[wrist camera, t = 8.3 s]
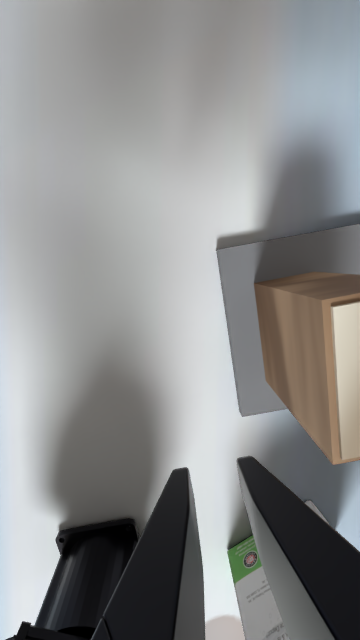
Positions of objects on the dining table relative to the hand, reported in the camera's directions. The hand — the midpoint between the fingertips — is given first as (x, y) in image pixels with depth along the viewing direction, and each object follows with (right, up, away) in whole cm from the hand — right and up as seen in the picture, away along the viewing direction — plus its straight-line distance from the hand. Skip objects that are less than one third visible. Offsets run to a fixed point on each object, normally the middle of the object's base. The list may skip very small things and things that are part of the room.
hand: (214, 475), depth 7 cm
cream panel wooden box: (+6, +4, +11) cm, 13 cm away
